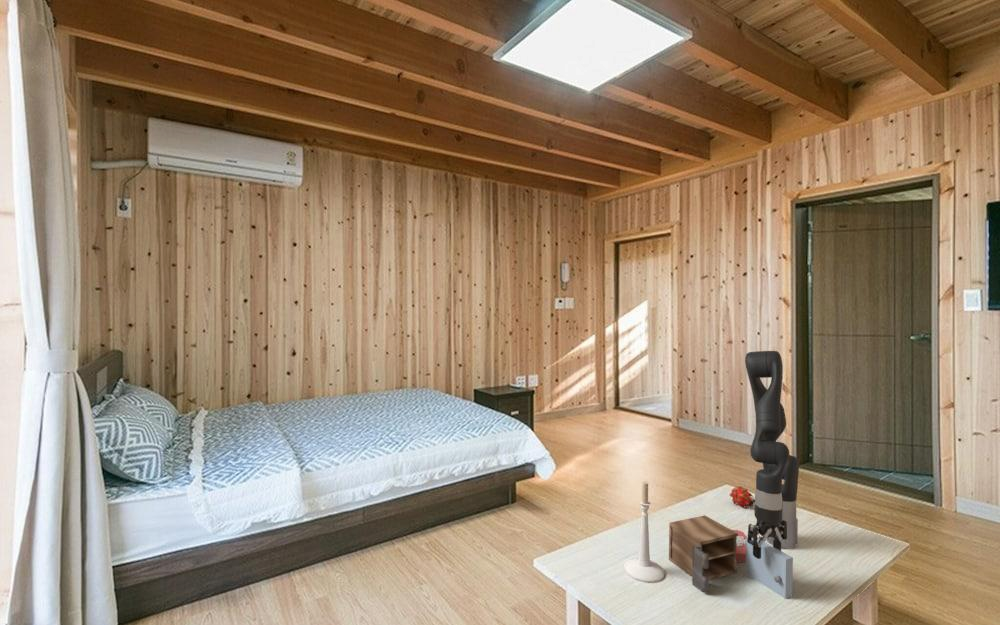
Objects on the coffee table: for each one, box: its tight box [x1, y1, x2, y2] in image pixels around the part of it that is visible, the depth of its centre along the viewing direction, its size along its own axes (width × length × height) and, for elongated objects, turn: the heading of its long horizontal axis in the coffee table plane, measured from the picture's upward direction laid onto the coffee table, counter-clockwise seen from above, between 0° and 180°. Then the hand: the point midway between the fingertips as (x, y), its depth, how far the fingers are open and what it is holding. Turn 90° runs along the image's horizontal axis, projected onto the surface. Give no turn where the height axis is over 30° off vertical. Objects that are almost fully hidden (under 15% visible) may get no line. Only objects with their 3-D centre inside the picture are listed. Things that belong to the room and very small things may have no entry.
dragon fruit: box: [729, 486, 755, 509], centre depth 205 cm, size 8×8×12 cm
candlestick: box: [623, 481, 666, 584], centre depth 154 cm, size 13×13×30 cm
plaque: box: [732, 529, 748, 563], centre depth 170 cm, size 18×4×15 cm
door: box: [745, 536, 794, 599], centre depth 147 cm, size 4×14×12 cm, turn 21°
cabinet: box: [668, 514, 738, 593], centre depth 154 cm, size 20×20×13 cm
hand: (767, 555), depth 147 cm, fingers open, 8 cm apart
